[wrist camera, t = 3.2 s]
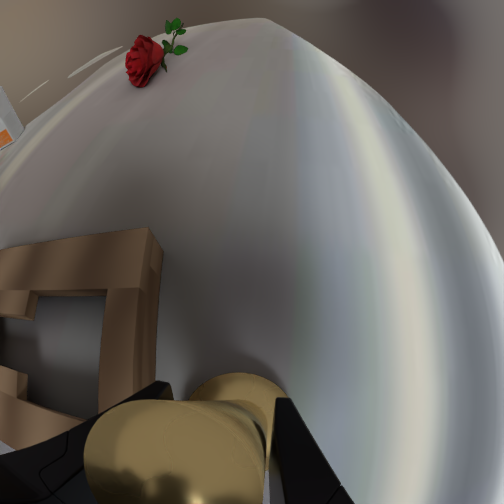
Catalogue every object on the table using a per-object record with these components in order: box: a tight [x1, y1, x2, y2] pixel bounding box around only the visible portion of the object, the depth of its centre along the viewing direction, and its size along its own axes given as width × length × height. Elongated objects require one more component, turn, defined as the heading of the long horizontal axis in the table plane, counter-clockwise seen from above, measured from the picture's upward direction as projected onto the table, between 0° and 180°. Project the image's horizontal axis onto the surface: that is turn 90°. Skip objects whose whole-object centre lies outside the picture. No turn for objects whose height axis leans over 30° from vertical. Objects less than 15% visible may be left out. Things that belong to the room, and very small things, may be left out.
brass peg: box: [84, 372, 288, 504], centre depth 7 cm, size 6×6×11 cm
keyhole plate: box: [0, 227, 164, 450], centre depth 13 cm, size 18×15×3 cm
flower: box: [125, 18, 188, 87], centre depth 36 cm, size 9×10×30 cm
